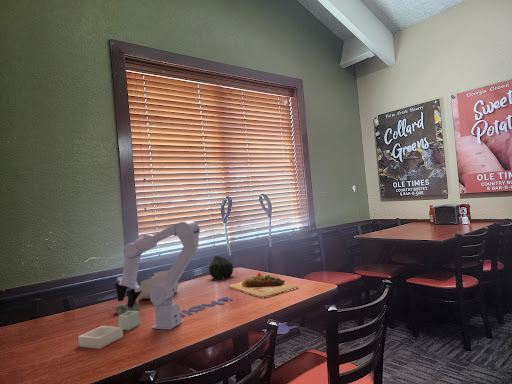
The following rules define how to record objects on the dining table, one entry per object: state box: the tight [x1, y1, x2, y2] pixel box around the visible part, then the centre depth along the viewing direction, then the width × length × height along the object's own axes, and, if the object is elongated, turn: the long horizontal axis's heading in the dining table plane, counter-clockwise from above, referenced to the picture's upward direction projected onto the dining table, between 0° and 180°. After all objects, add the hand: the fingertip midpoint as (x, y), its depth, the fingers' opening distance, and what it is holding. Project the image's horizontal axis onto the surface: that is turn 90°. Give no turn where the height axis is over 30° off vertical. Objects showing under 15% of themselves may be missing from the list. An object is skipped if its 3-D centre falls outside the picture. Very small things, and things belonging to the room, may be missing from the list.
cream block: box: [137, 269, 179, 300], centre depth 185 cm, size 20×19×12 cm
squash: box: [208, 255, 234, 280], centre depth 214 cm, size 14×15×15 cm
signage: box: [180, 296, 233, 318], centre depth 155 cm, size 28×1×10 cm
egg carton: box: [115, 299, 140, 315], centre depth 161 cm, size 11×8×4 cm
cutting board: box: [229, 272, 299, 298], centre depth 179 cm, size 35×23×8 cm
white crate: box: [77, 325, 124, 350], centre depth 124 cm, size 11×11×4 cm
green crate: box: [117, 310, 141, 331], centre depth 137 cm, size 5×6×6 cm
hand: (125, 303), depth 138 cm, fingers open, 7 cm apart
